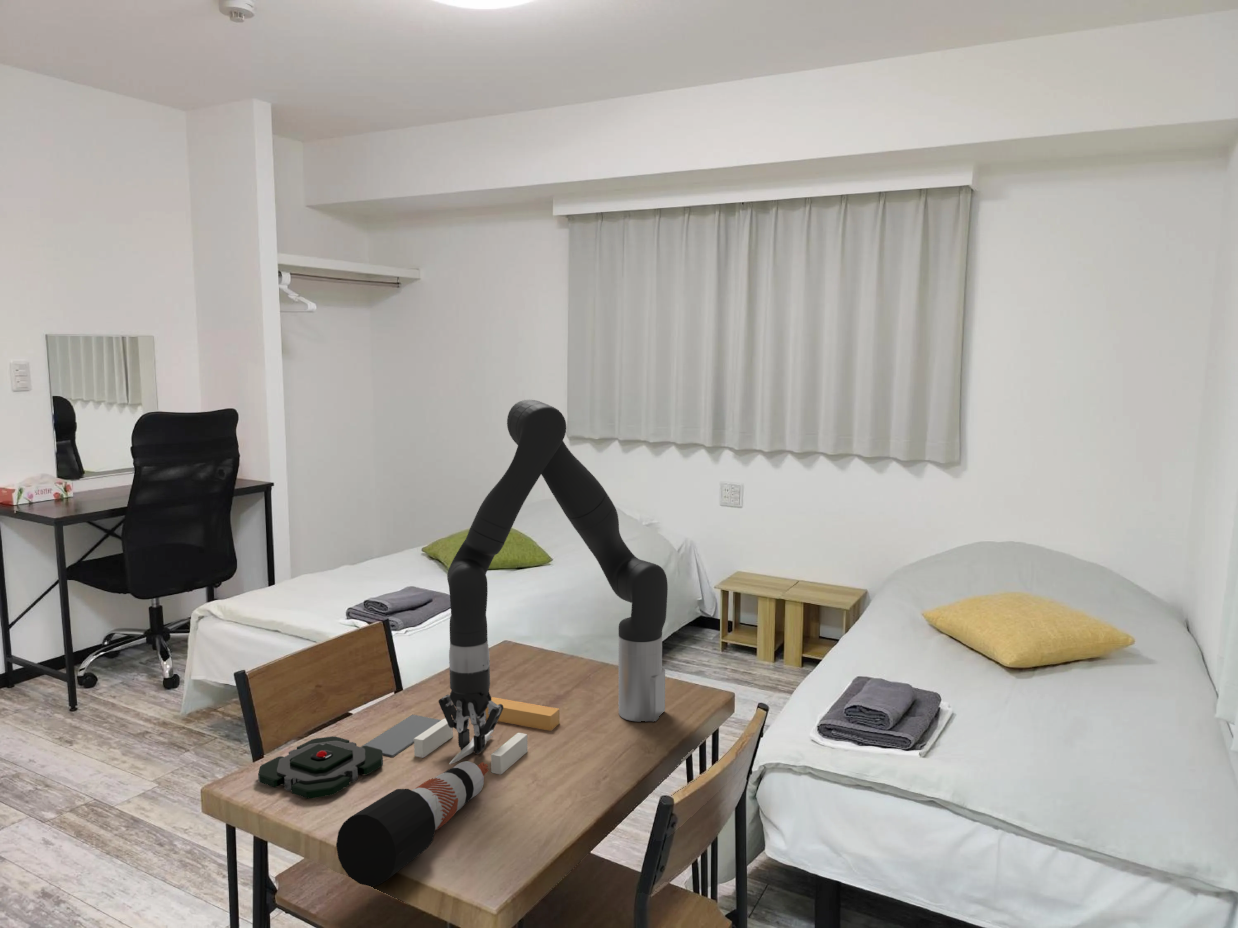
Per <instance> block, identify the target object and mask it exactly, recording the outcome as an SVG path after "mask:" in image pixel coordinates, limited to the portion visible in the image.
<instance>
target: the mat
mask: <svg viewBox="0 0 1238 928" xmlns="http://www.w3.org/2000/svg"><path fill="white" fill-rule="evenodd" d="M441 720H442V719H438V718H434V717H428V716H423V715H417V714H413V713H412V714H411V715H410V716H409V715H408V717H406V718H404V719H403V720H402V721H399V722H398V723H397V724H395V725H393V726H392V727H390V728H389V729H387V730H385V731H384V732H382V733H380V734H379V735H377V736H376V737H373V739H371V740H369V741H368V742H366V743H365V744H363V745H362V746H370V747H374V748H377V749H381V750H382V753H383V756H386V757H390V758H394V757H395V756H397V755H399V754H400V753H402V752H403V751H405V750H406V749H407V748H408V747H410V746H412V745H414V738H415V737H417V736H418V735H420V734H421V733H423V732H424V731H426V730H427V729H429V728H430V727H432V726H433V725H435V724H436V723H438V722H439V721H441ZM362 746H360V747H362Z"/></svg>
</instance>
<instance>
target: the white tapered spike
mask: <svg viewBox="0 0 1238 928" xmlns="http://www.w3.org/2000/svg"><path fill="white" fill-rule="evenodd" d="M494 731H495V728H494V729H493V730H492V731H490V732H489V733H488V734H487V735H485V745H487V743H488V741H490V739H491V738H493V736H492V734H493V733H494ZM472 753H474V736H473V737H472V738H471V739H470V743H469V744H468V745H467V746H466V747H464V748H463V749H462V750H461V749H460V751H459V753H457V754H456V755H455V756H454V757H453V758H452V760H450V762H449V765H452V764H455V763H457V762H458V761H461V760H463V758H465V757H467V756H469V755H471V754H472Z"/></svg>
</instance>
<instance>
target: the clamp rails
mask: <svg viewBox="0 0 1238 928" xmlns="http://www.w3.org/2000/svg"><path fill="white" fill-rule="evenodd" d="M440 720H441V721H439V722H438V723H436V724H435V725H433V726H432V727H430V728H429V729H427V730H426V731H424V732H423V733H421V734H420V735H418V736H417V737H415V738H414V743H413V748H414V749H413V752H414V755H413V756H414V757H417V758H421V759H422V758H425V757H427V756H428V755H430V754H431V753H433V751H435V750H437V748H439V747H441V746H442V745H443V744H445V743H447V741H449V740H451V738H453V737H454V728H450V727H449V725H448V723H447V721H446V718H445V717H444V718H442V719H440ZM528 750H529V749H528V734H527V733H523V732H517V733H515V734H514V735H513V736H512V737H511V738H509V739H507V741H506V742H505V743H503V744H502V745H501V746H499V748H497V749H496V750H494V751H493V752H492V753H491V754H490V767H491V768H490V769H491V770H490V771H491V773H492V774H496V775H503V774H504V772H506V771H507V770H508V769H509V768H510V767H511V766H513V765H515V763H516V762H517V761H519V760H520V759H521V758H522V757H523V756H524V755H526V754H527V753H528Z"/></svg>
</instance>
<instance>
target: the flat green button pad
mask: <svg viewBox="0 0 1238 928" xmlns="http://www.w3.org/2000/svg"><path fill="white" fill-rule="evenodd" d="M383 765H384V755H383V753H382V750H381V749H377V748H374V747H370V746H363V745H362V747H361V746H359V745H358V744H357V743H356V742H354V741H350V739H346V738H342V737H339V736H336V735H335V736H334V735H333V736H325V737H316V738H312V739H310V740H308V741H306V742H304V743H302V744H300V745H298V746H296V748H294V749H292V750H290V751H288V755H285V756H282V755H281V756H280V755H279V756H276V757H274V758H273V759H270V760H269V761H266V762H265V763H262V764H261V765H260V766H259V768H258V773H257V779H258V780H257V781H258V783H260V784H263V785H266V786H270V787H271V788H278V787H280V786H284V790H286V791H289V792H291V794H294V795H295V796H299V797H302V798H305V799H316V798H317V799H318V798H323V797H330V796H333V795H335V794H337V793H339V792H341V791H342V790H344V789H346V788H347V787H349V786H350V785H351V783H353V782H355V781H357V780H358V779H359V775H363V776H366V775H369V774H371V773H373V772H374V771H376V770H378V769H380V768H381V767H382V766H383Z"/></svg>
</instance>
